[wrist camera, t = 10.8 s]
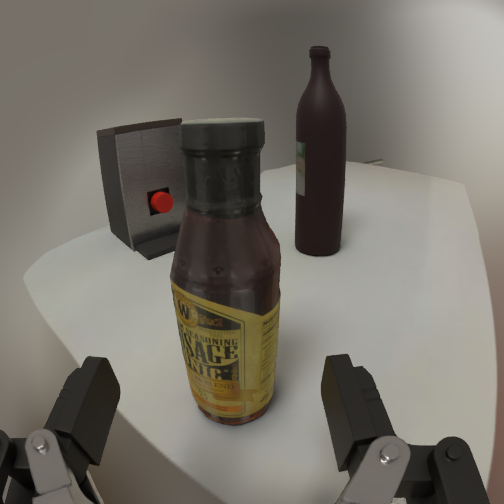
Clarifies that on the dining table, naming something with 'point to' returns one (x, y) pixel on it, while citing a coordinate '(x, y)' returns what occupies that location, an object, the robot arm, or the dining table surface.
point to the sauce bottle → (226, 271)
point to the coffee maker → (143, 183)
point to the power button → (162, 202)
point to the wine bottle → (320, 161)
